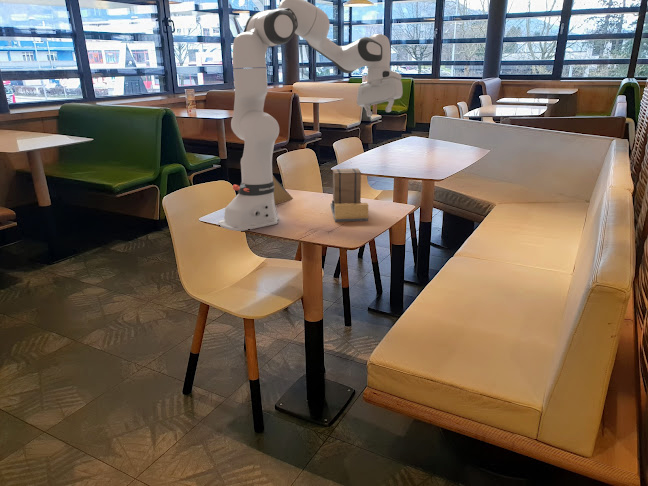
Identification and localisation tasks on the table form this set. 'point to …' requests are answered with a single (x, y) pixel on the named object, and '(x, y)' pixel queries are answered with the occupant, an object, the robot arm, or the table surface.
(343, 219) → the roller track
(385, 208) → the table surface
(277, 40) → the robot arm
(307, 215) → the table surface
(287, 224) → the table surface
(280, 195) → the sandwich container
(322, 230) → the table surface
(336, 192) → the crate
